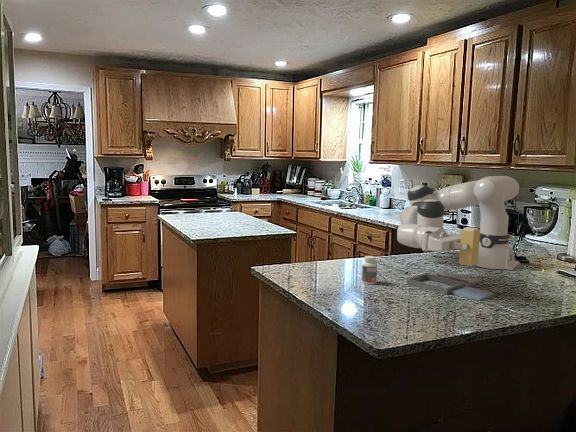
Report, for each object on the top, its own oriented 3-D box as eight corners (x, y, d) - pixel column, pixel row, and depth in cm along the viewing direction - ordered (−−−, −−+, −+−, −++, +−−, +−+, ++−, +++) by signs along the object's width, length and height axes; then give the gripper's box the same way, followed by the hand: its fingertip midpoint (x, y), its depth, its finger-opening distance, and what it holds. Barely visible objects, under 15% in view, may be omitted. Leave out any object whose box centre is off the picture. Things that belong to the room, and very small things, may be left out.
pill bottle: (360, 280, 178) (361, 255, 177) (374, 280, 179) (375, 255, 177) (363, 284, 173) (364, 258, 172) (378, 284, 173) (379, 258, 172)
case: (443, 273, 192) (444, 268, 192) (482, 281, 180) (482, 276, 180) (406, 284, 175) (406, 278, 175) (446, 294, 163) (446, 288, 163)
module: (465, 262, 167) (468, 226, 165) (477, 264, 164) (480, 228, 162) (458, 263, 164) (461, 227, 162) (470, 266, 161) (473, 229, 159)
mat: (465, 288, 171) (465, 286, 171) (493, 295, 164) (493, 292, 164) (451, 293, 164) (451, 291, 164) (479, 300, 157) (479, 298, 157)
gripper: (450, 244, 180) (485, 251, 169) (419, 251, 166) (456, 258, 156) (451, 228, 179) (487, 233, 169) (420, 233, 165) (457, 239, 155)
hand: (472, 245), depth 162 cm, fingers closed on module, 4 cm apart
